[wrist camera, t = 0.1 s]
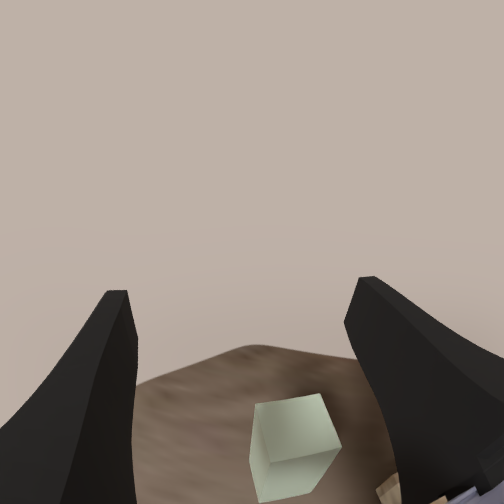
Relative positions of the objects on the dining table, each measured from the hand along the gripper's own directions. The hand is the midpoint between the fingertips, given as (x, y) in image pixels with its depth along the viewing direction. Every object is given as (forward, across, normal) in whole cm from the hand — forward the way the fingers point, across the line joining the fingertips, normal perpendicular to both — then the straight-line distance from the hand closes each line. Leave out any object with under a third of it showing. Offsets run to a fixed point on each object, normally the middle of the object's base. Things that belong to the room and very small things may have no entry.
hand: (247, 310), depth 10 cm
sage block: (0, -4, +22) cm, 22 cm away
